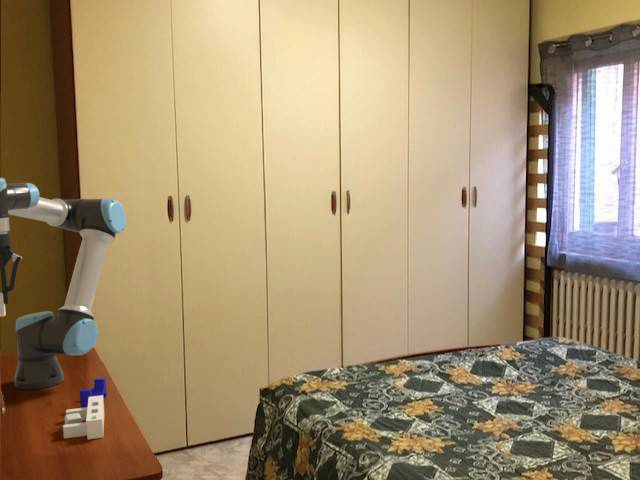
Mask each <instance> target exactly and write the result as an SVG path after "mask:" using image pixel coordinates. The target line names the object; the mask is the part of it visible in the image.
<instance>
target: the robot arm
mask: <svg viewBox="0 0 640 480" xmlns="http://www.w3.org/2000/svg"><path fill="white" fill-rule="evenodd" d="M9 215H10V216H15V217H21V218H25V219H31V220H34V221H35V220H36V221H39V222H45V223H46V224H47V225H49V226H51V227H55V228H59V229H63V230H67V231H70V232H75V233H79V235H80V237H81V238H82V240H81V244H80V247H79V249H78V254H77V257H76V260H75V261H76V262H75V266H74V269H73V272H72V274H71V275H72V277H71V280H70V282H69V287H68V290H67V295H66V298H65V302H64V305H63V306H62V307H60V308H58V309H57V312H56V316H55V317H54V312H52V311H50V310H49V311H48V310H47V311H40V312H39V311H38V312H33V313H30V314H25V315H23V316H20V317H17V319H16V320H15V338H16V349H17V356H18V357H17V359H18V360H17V361H18V364H17V366H16V371H15V374H14V378H13V379H14V380H13V381H14V383H13V384H14V387H15V388H17V389H20V390H37V389H38V390H39V389H45V388H49V387H53V386H56V385H59V384H60V383H62V382H63V381H64V371H63V369H62V367H61V365H60V362H59V360H58V358H57V355H67V356H83V355H86V354H87V353H88V352H90V351H91V350H92V349H93V347H94V346H95V344H96V343H97V339H98V336H99V330H98V325H97V323H96V321H94V320H95V316H94V314H93V312H92V309H93V305H94V301H95V297H96V294H97V290H98V287H99V286H98V285H99V282H100V280H101V279H100V278H101V274H102V270H103V267H104V262H105V259H106V255H107V251H108V247H109V245H110V244H111V243H113V242H115V238H116V235H117V234H120V233H122V232H123V231H124V230H125V228H126V226H127V215H126V211H125V208H124V206H123V205H122V203H121V202H120V201H118V200H117V199H112V198H76V199H75V198H73V199H62V198H53V199H49V198H46V197H42V196H41V197H40V191H39V189H38V187H37V186H36V185H35V184H33V183H32V182H19V183H18V182H16V183H7V181H6V178H4V177H0V279H1V292H0V318H1V317H5V316H7V315H6V312H7V311H6V305H8V304H9V303H10V300H9V298H10V297H9V292H11V291H13V290H15V288H16V282H17V277H18V271H19V264H20V262H21V261H22V260H23V256H22V255H18V254H16V253H15V252H14V250H13V249H12V243H11V234H10V230H11V229H10V217H9ZM11 258H12V262H13V264H12V269H11V274H10V280H9V285H8V275H7V274H8V272H7V264H8V263H9V261H10V260H11Z"/></svg>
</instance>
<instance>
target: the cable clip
mask: <svg viewBox="0 0 640 480" xmlns="http://www.w3.org/2000/svg"><path fill="white" fill-rule="evenodd" d="M93 381H94V383H93V387H91V388H89V389H85V388H84V389H81V390H79V402H80V403H79V404H80V408H85V407H88V398H89V397H93V396H101V395H103V400H105V399H106V398H107V397H108V393H107V380H106V378H102V377H99V378H98V377H96V378H95V379H93Z"/></svg>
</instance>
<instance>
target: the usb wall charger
mask: <svg viewBox="0 0 640 480" xmlns="http://www.w3.org/2000/svg"><path fill="white" fill-rule="evenodd" d="M82 422H83V421H82V418H81V416H80V414H79V413H74V414H69V415H66V414H65V415H64V425H66V424H74V423H82Z"/></svg>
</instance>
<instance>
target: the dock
mask: <svg viewBox="0 0 640 480" xmlns="http://www.w3.org/2000/svg"><path fill="white" fill-rule="evenodd" d="M104 400H105V399H104ZM104 400H103V395H101V396H93V397H89V398H88V407H85V408H81V407H79V408H70V409H66V410H65V411H66V412H65V416H66V415H69V414H74V413H79V414H80V416H81V418H82V423H74V424H66V425H65V424H63V426H62V431H63V439H71V438H78V437H85V436H86V438H87V440H93V439H100V438H101V439H103V438H104V434H105V433H104V429H105V428H104V427H105V404H104ZM83 421H84V422H83Z"/></svg>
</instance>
